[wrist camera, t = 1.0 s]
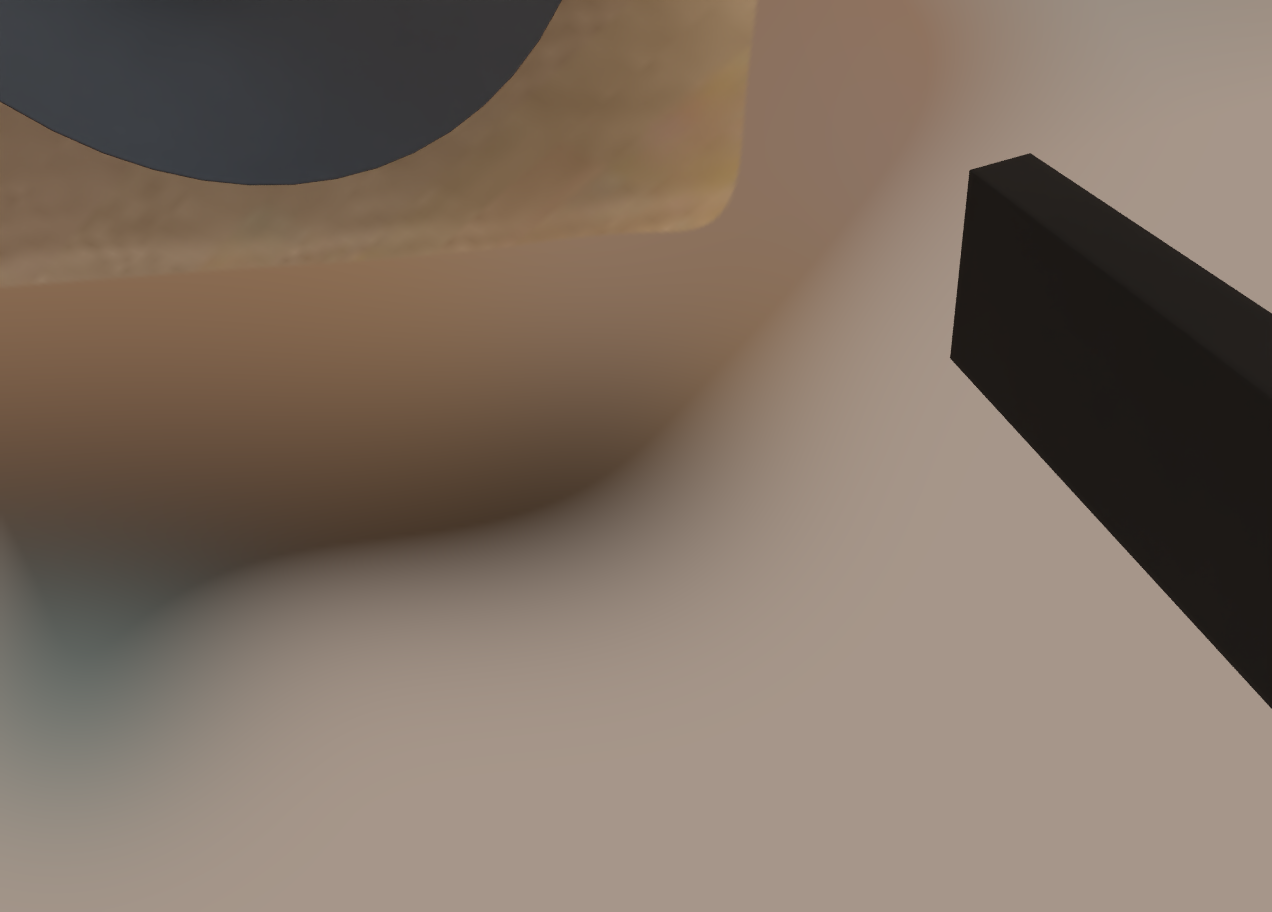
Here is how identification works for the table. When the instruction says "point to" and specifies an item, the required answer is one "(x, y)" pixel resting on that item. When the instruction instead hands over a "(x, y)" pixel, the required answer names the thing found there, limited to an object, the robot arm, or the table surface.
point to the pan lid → (261, 78)
